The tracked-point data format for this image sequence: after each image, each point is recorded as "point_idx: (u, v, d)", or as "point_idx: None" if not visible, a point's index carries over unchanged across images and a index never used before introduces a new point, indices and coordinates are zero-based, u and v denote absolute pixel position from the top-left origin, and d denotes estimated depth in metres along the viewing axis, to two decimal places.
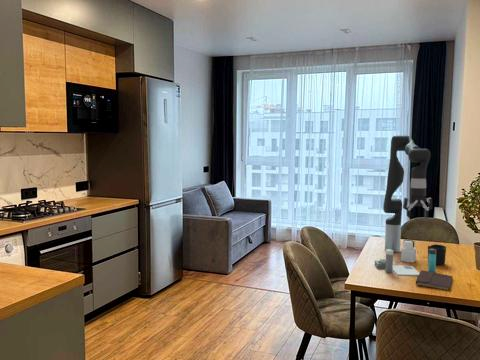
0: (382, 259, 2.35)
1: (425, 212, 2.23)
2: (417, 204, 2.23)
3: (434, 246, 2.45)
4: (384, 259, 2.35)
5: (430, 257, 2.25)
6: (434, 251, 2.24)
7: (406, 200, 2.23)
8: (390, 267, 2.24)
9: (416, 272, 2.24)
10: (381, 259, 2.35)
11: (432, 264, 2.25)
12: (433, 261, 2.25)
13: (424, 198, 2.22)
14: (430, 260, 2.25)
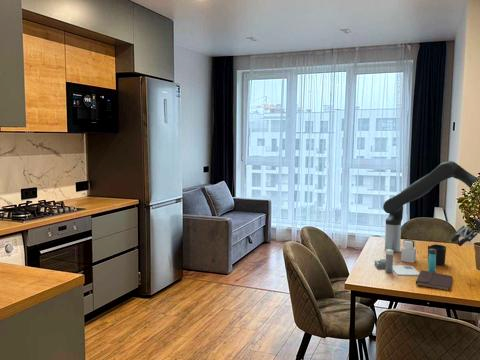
0: (382, 259, 2.35)
1: (456, 238, 2.28)
2: None
3: (434, 246, 2.45)
4: (384, 259, 2.35)
5: (430, 257, 2.25)
6: (434, 251, 2.24)
7: None
8: (390, 267, 2.24)
9: (416, 272, 2.24)
10: (381, 259, 2.35)
11: (432, 264, 2.25)
12: (433, 261, 2.25)
13: None
14: (430, 260, 2.25)
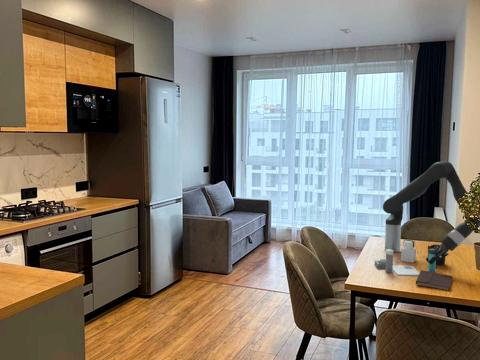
0: (382, 259, 2.35)
1: None
2: None
3: (434, 246, 2.45)
4: (384, 259, 2.35)
5: (430, 257, 2.25)
6: (434, 251, 2.24)
7: None
8: (390, 267, 2.24)
9: (416, 272, 2.24)
10: (381, 259, 2.35)
11: (432, 264, 2.25)
12: None
13: None
14: None
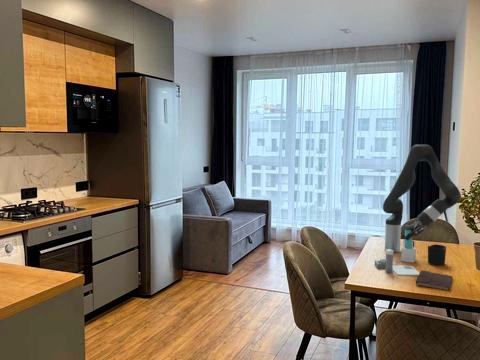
0: (382, 259, 2.35)
1: None
2: None
3: (434, 246, 2.45)
4: (384, 259, 2.35)
5: (406, 233, 2.25)
6: (410, 227, 2.24)
7: None
8: (390, 267, 2.24)
9: (416, 272, 2.24)
10: (381, 259, 2.35)
11: (408, 240, 2.25)
12: None
13: None
14: None
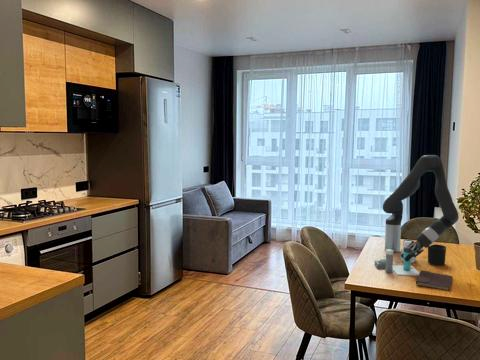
0: (382, 259, 2.35)
1: None
2: None
3: (434, 246, 2.45)
4: (384, 259, 2.35)
5: (405, 255, 2.27)
6: (409, 249, 2.26)
7: None
8: (390, 267, 2.24)
9: (416, 272, 2.24)
10: (381, 259, 2.35)
11: (407, 262, 2.26)
12: None
13: None
14: None
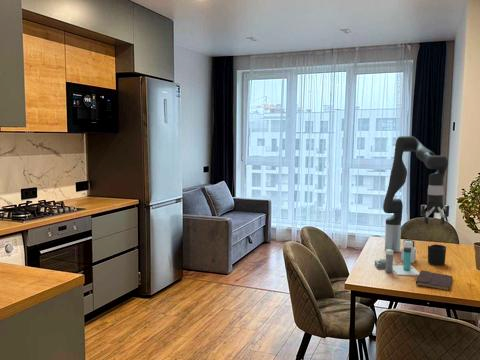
0: (382, 259, 2.35)
1: (441, 219, 2.24)
2: (434, 211, 2.23)
3: (434, 246, 2.45)
4: (384, 259, 2.35)
5: (405, 255, 2.27)
6: (409, 249, 2.25)
7: (423, 207, 2.23)
8: (390, 267, 2.24)
9: (416, 272, 2.24)
10: (381, 259, 2.35)
11: (407, 262, 2.26)
12: (408, 259, 2.26)
13: (441, 205, 2.23)
14: (405, 258, 2.27)
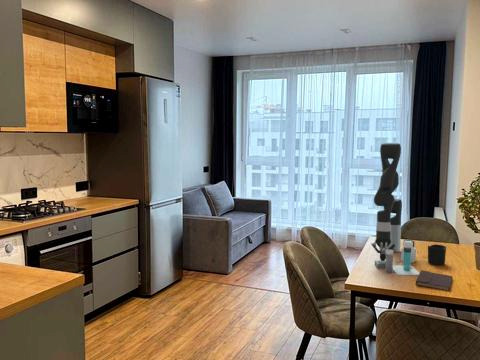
0: None
1: None
2: (384, 244, 2.34)
3: (434, 246, 2.45)
4: None
5: (405, 255, 2.27)
6: (409, 249, 2.25)
7: (374, 246, 2.34)
8: (390, 267, 2.24)
9: (416, 272, 2.24)
10: None
11: (407, 262, 2.26)
12: (408, 259, 2.26)
13: (390, 240, 2.33)
14: (405, 258, 2.27)
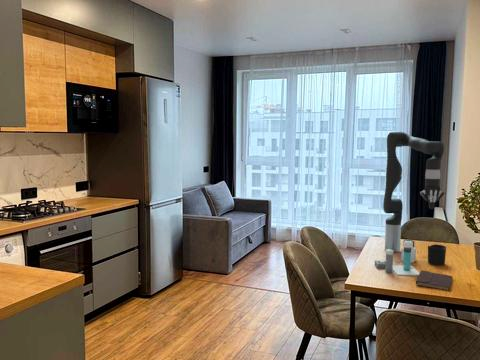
0: (382, 261, 2.35)
1: None
2: (433, 192, 2.34)
3: (434, 246, 2.45)
4: (384, 261, 2.35)
5: (405, 255, 2.27)
6: (409, 249, 2.25)
7: (423, 194, 2.34)
8: (390, 267, 2.24)
9: (416, 272, 2.24)
10: (381, 261, 2.35)
11: (407, 262, 2.26)
12: (408, 259, 2.26)
13: (439, 188, 2.34)
14: (405, 258, 2.27)
